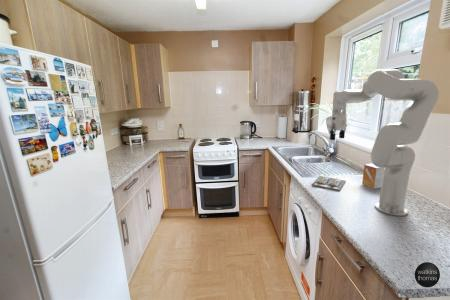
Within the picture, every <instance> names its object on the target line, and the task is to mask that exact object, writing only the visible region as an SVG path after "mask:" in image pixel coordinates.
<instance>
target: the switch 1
mask: <svg viewBox="0 0 450 300" xmlns="http://www.w3.org/2000/svg"><path fill="white" fill-rule="evenodd" d="M318 177H319V182H318V184H324V177H325V175H323V174H320V175H319V176H318Z"/></svg>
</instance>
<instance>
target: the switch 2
mask: <svg viewBox="0 0 450 300" xmlns="http://www.w3.org/2000/svg"><path fill="white" fill-rule="evenodd" d="M330 178H331V184H330V186H334V187H336V185H337V184H336V181H337V179H338V177H335V176H331V177H330Z"/></svg>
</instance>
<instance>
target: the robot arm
mask: <svg viewBox="0 0 450 300" xmlns="http://www.w3.org/2000/svg"><path fill="white" fill-rule="evenodd" d="M439 92H440V91H439V88H438V86H437V85H436V84H435V83H434V82H433V81H431V80H430V79H425V78H405V74H404V73H403V71H401V70H399V69H395V68H392V69H391V68H389V69H386V68H385V69H382V68H381V69H376V70H373V71H372V72H371V73H369V75H368V77H367V80H365V82H363V84H362V88H361V89H345V90H340V91H339V90H338V91H337V90H336V91H334V92H333V99H332V100H333V101H332V109H331V110H332V112H331V114H332V115H331V119H330V125H329V126H328V131H329V132H328V133H329V140H331V141H335V140H336V133H337V131H339V133H338V135H339V136H338V138H339V139H345V134H346V130H347V126H348V124H347V123H348V122H347V121H348V120H347V105H348V104H360V103H364V102H366V101H369V100H371V99H373V98H374V97H375V96H376V95H381V96H382V97H384V98H386V99H388V100H391V101H411V102H410V103H409V104H408V105H407V107H405V109H404V110H403V112H402V114H401V117H400V120H399V121H398V122H393V123H392V122H391V123H388V124H384V126H382V127H381V128H380V130H379V131H378V133H377V135H376V138H375V141H374V144H373V146H372V148H371V149H372V150H371V153H370V161H371V164H374V165H375V166H377V167H381V168H384V172H383V177H382V184H381V187H380V194H379V200H378V202H376V203H375V204H374V207H375V209H376V210H378V211H380V212H381V213H383V214H387V215H390V216H395V217H396V216H397V217H404V216H407V215H408V214H409V210H408V208H406V207H405V203H406V197H407V191H408V184H409V180H410V179H409V178H410V174H411V171H412V170H411V169H413V168H412V167H413V165H414V163H415V160H416V153H415V151H414V149H413V148H411V147H410V146H408V145H412V144H414V143H415V144H416V143H418V141H419V140H420V138H421V136H422V134H423V131H424V130H425V127H426V125H427V123H428V120H429V118H430V116H431V113H432V112H433V110H434V108H435V106H436V104H437V102H438V101H439V96H440V93H439Z"/></svg>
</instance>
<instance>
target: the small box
mask: <svg viewBox="0 0 450 300" xmlns="http://www.w3.org/2000/svg"><path fill="white" fill-rule="evenodd" d="M384 169H385V168H381V167H377V166H375V165H374V164H373V163H365V164H364V167H363V175H362V185H363V186H366V187H369V188H372V189H373V190H374V189H379V188H380V189H381V184H382V177H383V172H384Z"/></svg>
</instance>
